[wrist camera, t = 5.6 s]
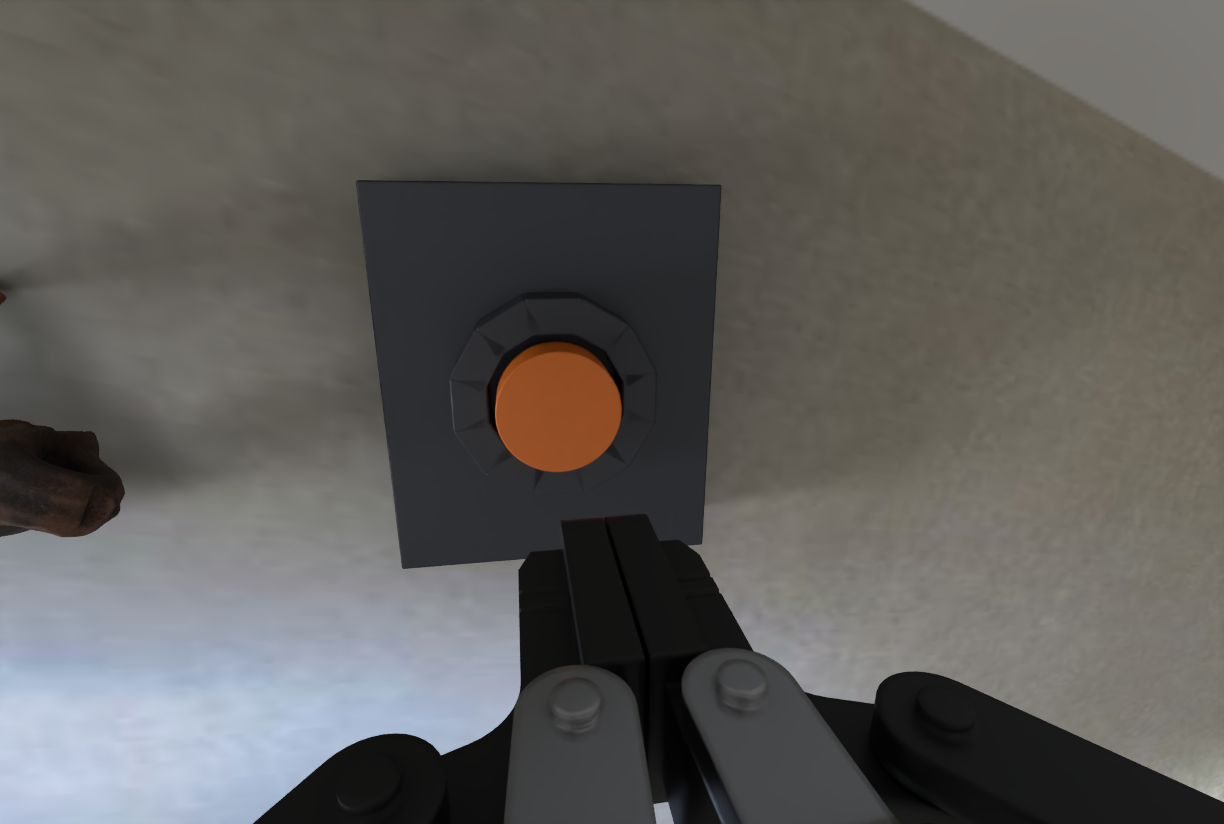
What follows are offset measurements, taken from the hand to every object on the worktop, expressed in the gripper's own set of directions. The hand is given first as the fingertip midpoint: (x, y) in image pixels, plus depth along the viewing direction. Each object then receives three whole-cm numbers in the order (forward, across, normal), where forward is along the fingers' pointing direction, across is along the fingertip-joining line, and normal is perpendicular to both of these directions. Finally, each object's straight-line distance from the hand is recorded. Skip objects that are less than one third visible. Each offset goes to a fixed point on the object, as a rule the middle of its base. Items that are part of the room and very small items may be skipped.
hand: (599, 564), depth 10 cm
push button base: (+15, 0, 0) cm, 15 cm away
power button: (+11, 0, 0) cm, 11 cm away
